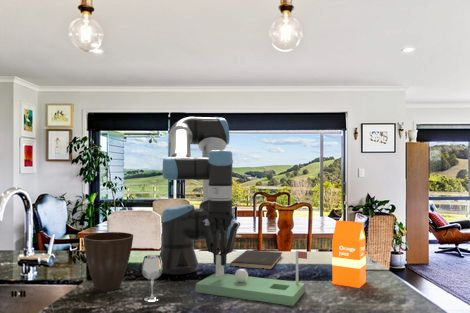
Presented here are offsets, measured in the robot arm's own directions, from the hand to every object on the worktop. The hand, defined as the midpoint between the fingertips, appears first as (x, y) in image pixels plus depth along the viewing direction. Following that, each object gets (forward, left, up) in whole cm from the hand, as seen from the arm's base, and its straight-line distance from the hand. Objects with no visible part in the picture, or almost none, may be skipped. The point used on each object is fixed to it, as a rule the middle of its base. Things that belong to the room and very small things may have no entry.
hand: (219, 275), depth 127 cm
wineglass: (-13, -18, -4) cm, 22 cm away
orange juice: (+36, +22, -4) cm, 43 cm away
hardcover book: (-2, +39, -5) cm, 39 cm away
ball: (+7, 0, +1) cm, 7 cm away
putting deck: (+10, 0, -4) cm, 11 cm away
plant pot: (-32, -14, -4) cm, 35 cm away
